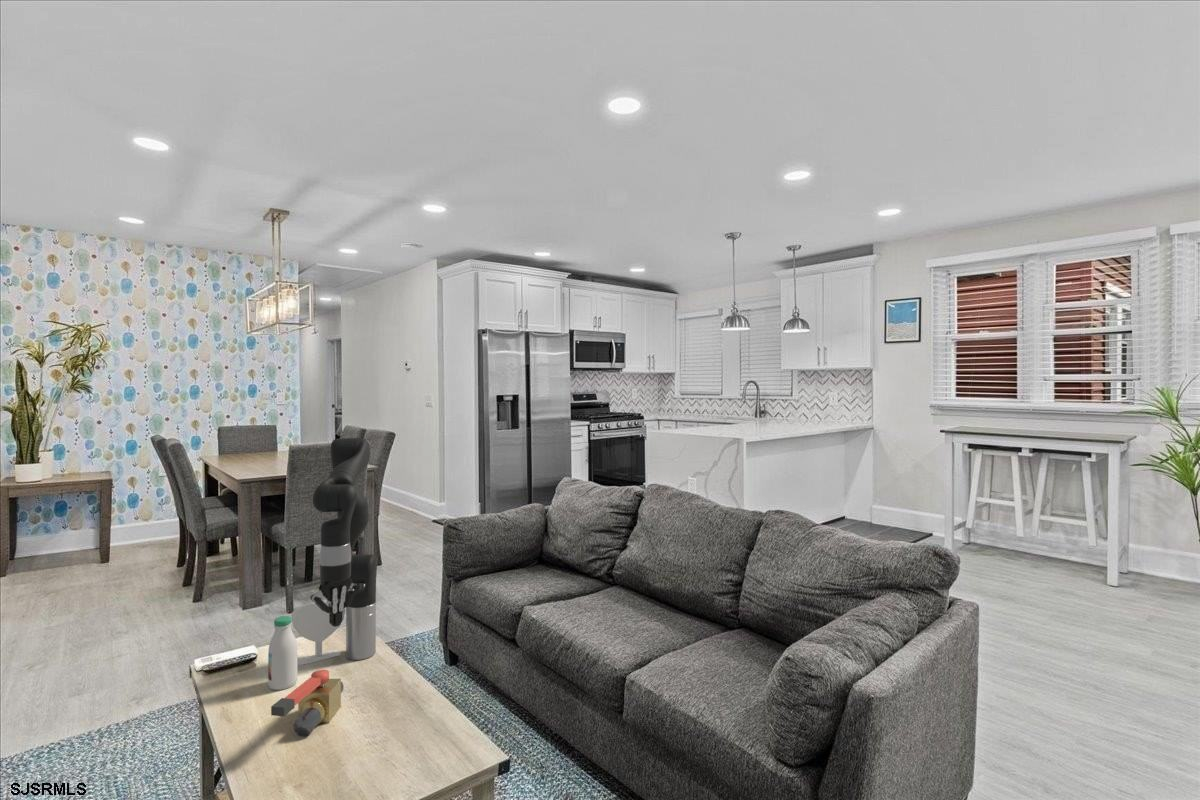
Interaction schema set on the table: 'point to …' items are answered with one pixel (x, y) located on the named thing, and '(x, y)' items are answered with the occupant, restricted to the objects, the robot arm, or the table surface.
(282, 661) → the milk bottle
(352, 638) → the robot arm
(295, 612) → the heart sculpture
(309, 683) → the lever
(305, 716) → the valve body
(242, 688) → the table surface
